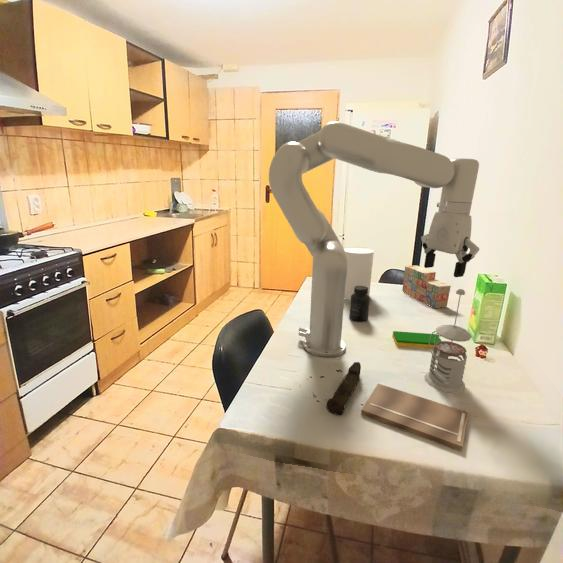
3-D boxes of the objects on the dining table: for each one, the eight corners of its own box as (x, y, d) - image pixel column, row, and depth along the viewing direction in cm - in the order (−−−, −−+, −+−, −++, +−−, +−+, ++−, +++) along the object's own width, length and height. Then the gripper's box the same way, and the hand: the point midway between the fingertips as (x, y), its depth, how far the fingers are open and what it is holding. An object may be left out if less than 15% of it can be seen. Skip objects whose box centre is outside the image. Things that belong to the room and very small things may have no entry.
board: (361, 414, 78) (361, 409, 77) (377, 387, 88) (378, 383, 87) (461, 451, 68) (462, 446, 67) (467, 416, 78) (468, 411, 77)
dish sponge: (391, 337, 116) (392, 330, 115) (435, 340, 114) (437, 333, 113) (395, 347, 109) (396, 340, 108) (442, 351, 107) (444, 344, 107)
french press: (441, 395, 85) (459, 297, 78) (411, 370, 96) (425, 282, 88) (474, 389, 88) (495, 294, 80) (442, 365, 98) (457, 279, 91)
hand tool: (342, 419, 77) (344, 400, 75) (325, 412, 78) (326, 394, 77) (368, 378, 92) (370, 362, 91) (353, 373, 94) (355, 357, 93)
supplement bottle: (371, 321, 127) (375, 289, 123) (355, 323, 125) (358, 291, 121) (361, 314, 133) (363, 283, 129) (345, 316, 131) (347, 285, 127)
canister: (339, 299, 148) (343, 252, 142) (335, 289, 160) (339, 246, 155) (372, 300, 147) (377, 253, 141) (365, 290, 160) (370, 247, 154)
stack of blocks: (447, 307, 142) (452, 278, 138) (434, 309, 140) (439, 279, 136) (413, 290, 161) (416, 264, 158) (401, 291, 160) (404, 265, 156)
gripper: (418, 205, 98) (409, 265, 103) (475, 212, 83) (461, 282, 88) (437, 205, 101) (427, 263, 106) (495, 212, 87) (480, 279, 92)
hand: (442, 271), depth 97 cm, fingers open, 9 cm apart
